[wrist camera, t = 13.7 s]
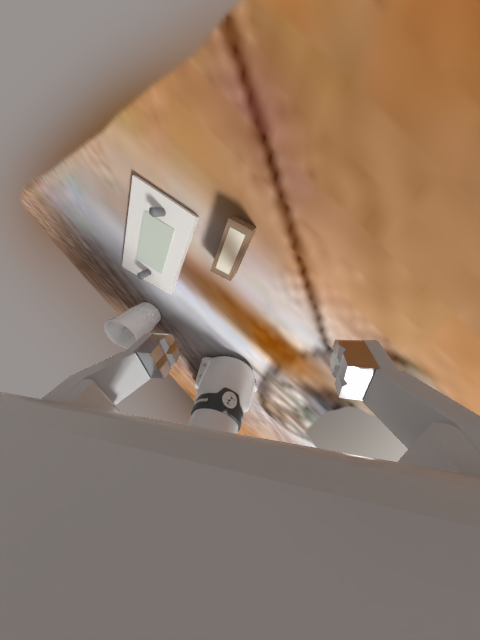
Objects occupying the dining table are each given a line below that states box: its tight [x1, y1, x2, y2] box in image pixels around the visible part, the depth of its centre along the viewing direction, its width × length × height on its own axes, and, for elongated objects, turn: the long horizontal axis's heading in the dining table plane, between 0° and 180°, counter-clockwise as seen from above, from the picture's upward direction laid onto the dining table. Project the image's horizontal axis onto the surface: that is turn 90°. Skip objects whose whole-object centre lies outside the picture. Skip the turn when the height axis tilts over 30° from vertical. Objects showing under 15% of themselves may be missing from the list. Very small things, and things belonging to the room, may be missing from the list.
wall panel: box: [122, 175, 199, 295], centre depth 34 cm, size 18×12×4 cm, turn 150°
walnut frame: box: [211, 216, 257, 281], centre depth 30 cm, size 9×4×5 cm, turn 156°
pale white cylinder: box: [104, 302, 161, 349], centre depth 42 cm, size 8×8×10 cm
